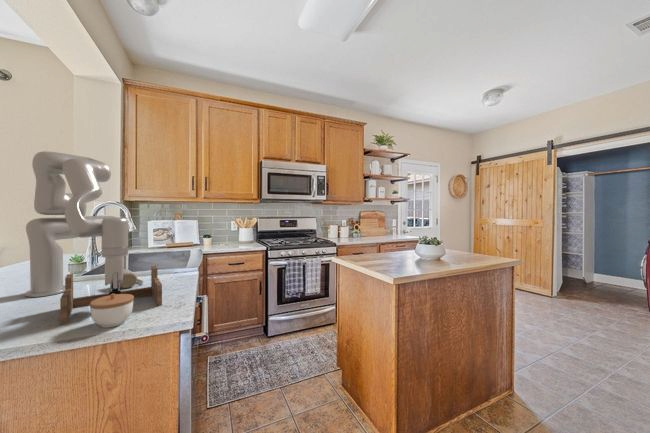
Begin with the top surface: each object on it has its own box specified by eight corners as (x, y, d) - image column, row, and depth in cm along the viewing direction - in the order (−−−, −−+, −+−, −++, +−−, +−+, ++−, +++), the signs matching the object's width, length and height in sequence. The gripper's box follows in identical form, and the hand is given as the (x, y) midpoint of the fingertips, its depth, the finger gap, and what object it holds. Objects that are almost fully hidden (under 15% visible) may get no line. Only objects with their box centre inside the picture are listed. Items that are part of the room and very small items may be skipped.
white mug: (118, 290, 115) (119, 273, 115) (112, 287, 120) (113, 270, 120) (146, 285, 123) (146, 269, 123) (139, 282, 128) (139, 266, 128)
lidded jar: (103, 334, 76) (103, 302, 76) (82, 327, 80) (81, 296, 80) (141, 319, 86) (141, 291, 86) (120, 314, 90) (120, 287, 90)
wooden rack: (67, 307, 95) (67, 274, 95) (155, 293, 112) (155, 265, 112) (60, 324, 81) (60, 286, 81) (161, 305, 99) (161, 273, 98)
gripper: (102, 249, 98) (101, 297, 99) (101, 255, 87) (100, 310, 87) (127, 248, 103) (126, 294, 104) (129, 253, 91) (128, 305, 92)
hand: (114, 301), depth 95 cm, fingers closed
